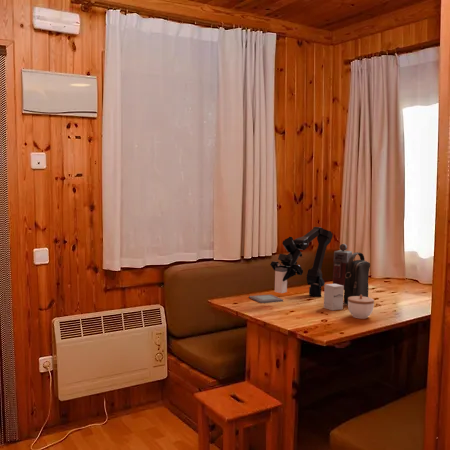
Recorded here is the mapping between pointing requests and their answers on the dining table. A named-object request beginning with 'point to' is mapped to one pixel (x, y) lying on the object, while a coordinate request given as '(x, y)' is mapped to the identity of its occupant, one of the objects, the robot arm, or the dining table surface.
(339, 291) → the supplement box
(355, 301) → the lidded bowl
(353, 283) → the shoulder bag
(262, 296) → the pad
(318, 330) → the dining table surface
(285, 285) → the block
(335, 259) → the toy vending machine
